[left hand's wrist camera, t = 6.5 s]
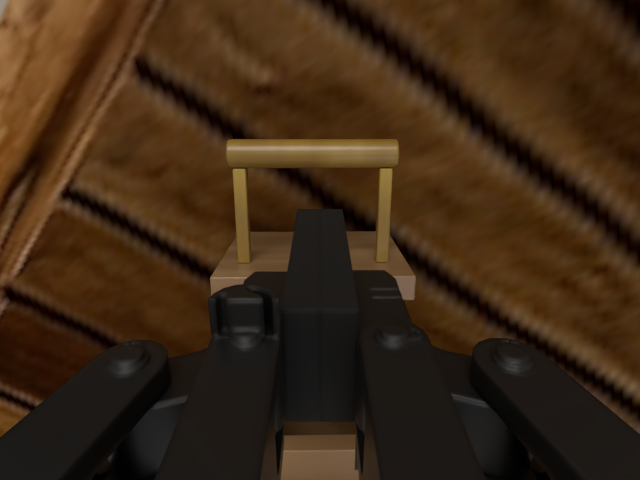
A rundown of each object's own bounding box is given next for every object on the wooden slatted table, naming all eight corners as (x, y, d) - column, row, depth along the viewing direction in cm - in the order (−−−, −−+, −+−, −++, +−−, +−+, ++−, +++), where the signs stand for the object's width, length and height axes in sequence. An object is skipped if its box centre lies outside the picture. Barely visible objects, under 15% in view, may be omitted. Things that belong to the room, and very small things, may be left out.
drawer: (232, 133, 25) (199, 142, 17) (392, 133, 25) (425, 142, 18) (251, 461, 31) (232, 569, 24) (377, 460, 31) (396, 566, 24)
